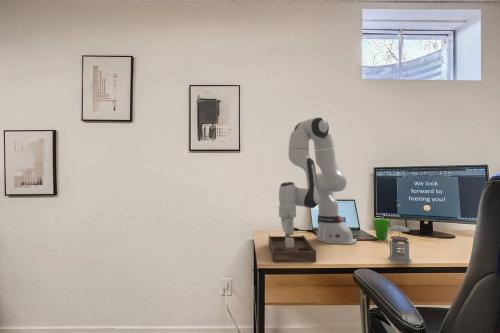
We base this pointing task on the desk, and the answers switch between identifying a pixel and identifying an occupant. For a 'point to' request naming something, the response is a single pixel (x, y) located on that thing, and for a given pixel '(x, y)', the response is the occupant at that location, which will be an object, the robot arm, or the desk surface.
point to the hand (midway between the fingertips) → (287, 239)
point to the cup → (381, 228)
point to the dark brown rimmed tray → (291, 250)
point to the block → (289, 242)
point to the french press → (399, 245)
